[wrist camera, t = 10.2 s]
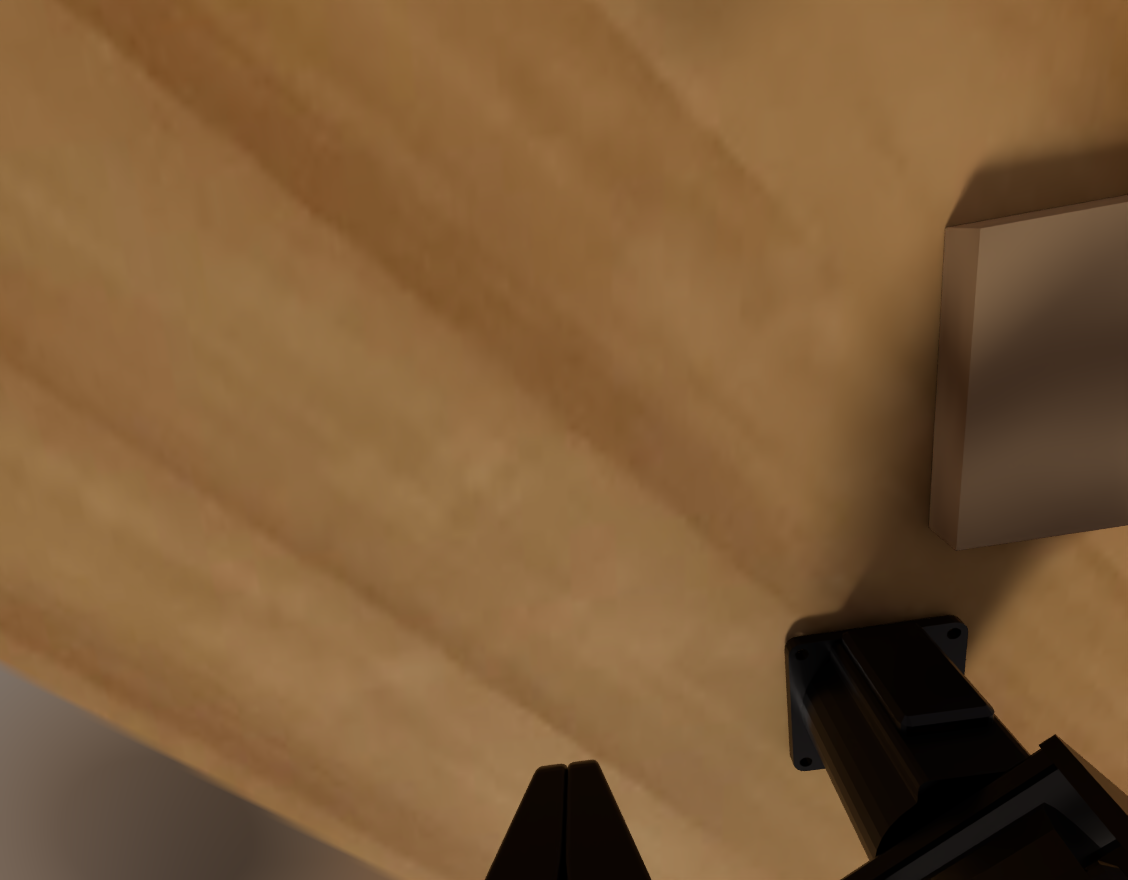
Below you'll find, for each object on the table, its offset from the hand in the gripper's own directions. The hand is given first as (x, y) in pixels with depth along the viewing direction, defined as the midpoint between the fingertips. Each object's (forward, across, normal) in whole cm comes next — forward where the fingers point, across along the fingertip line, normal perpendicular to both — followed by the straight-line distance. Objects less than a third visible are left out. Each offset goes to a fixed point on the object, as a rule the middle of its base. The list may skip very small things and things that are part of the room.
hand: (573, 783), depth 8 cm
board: (+12, -19, 0) cm, 22 cm away
